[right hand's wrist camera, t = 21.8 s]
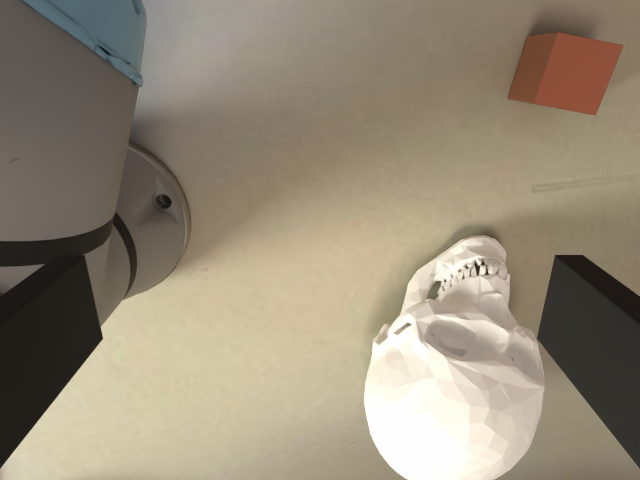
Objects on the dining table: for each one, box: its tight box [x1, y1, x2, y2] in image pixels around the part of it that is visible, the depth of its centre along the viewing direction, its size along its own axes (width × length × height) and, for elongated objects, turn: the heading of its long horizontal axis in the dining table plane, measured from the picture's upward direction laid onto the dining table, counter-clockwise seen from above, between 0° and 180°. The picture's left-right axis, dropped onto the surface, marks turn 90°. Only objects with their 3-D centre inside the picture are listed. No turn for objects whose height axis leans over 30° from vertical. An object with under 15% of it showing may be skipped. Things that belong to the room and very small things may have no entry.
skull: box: [364, 235, 545, 480], centre depth 39 cm, size 13×22×16 cm, turn 165°
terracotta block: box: [508, 32, 623, 115], centre depth 35 cm, size 5×5×5 cm
